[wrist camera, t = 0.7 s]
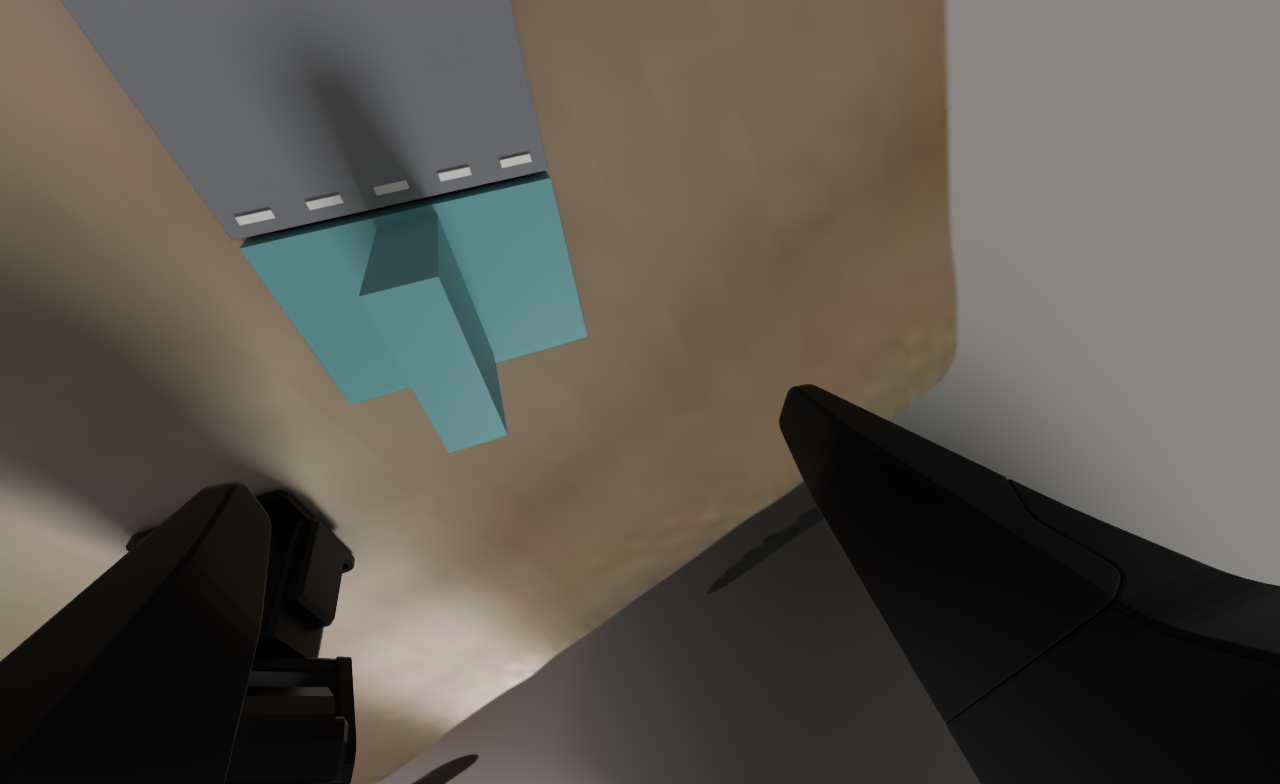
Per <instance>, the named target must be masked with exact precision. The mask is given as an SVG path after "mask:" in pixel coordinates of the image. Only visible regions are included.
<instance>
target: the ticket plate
mask: <svg viewBox="0 0 1280 784" xmlns="http://www.w3.org/2000/svg"><path fill="white" fill-rule="evenodd" d="M60 1H61V2H62V4H63V5H64V6H65V8H66V9H67V11H68V12H69V13H70V15H71V16H72V18H73V19H74V20H75V22H76V23H77V25H78V26H79V27H80V29H81V30H82V32H83V33H84V34H85V36H86V37H87V39H88V40H89V41H90V43H91V44H92V46H93V47H94V48H95V50H96V51H97V53H98V54H99V56H100V57H101V58H102V60H103V61H104V63H105V64H106V65H107V67H108V68H109V70H110V71H111V72H112V74H113V75H114V77H115V78H116V79H117V81H118V82H119V84H120V85H121V86H122V88H123V89H124V91H125V92H126V93H127V95H128V96H129V98H130V99H131V100H132V102H133V103H134V105H135V106H136V107H137V109H138V110H139V112H140V113H141V114H142V116H143V117H144V119H145V120H146V121H147V123H148V124H149V126H150V127H151V128H152V130H153V131H154V133H155V134H156V135H157V137H158V138H159V140H160V141H161V142H162V144H163V145H164V147H165V148H166V149H167V151H168V152H169V154H170V155H171V156H172V158H173V159H174V161H175V162H176V164H177V165H178V166H179V168H180V169H181V171H182V172H183V173H184V175H185V176H186V178H187V179H188V180H189V182H190V183H191V185H192V186H193V187H194V189H195V190H196V192H197V193H198V194H199V196H200V197H201V199H202V200H203V201H204V203H205V204H206V206H207V207H208V208H209V210H210V211H211V213H212V214H213V215H214V217H215V218H216V220H217V221H218V222H219V224H220V225H221V227H222V228H223V229H224V231H225V232H226V234H227V235H228V236H229V238H230V239H231V241H232V240H237V239H241V238H246V237H250V236H255V235H259V234H264V233H268V232H273V231H277V230H282V229H286V228H291V227H295V226H300V225H304V224H308V223H313V222H317V221H322V220H326V219H331V218H335V217H340V216H344V215H349V214H353V213H358V212H362V211H367V210H371V209H376V208H380V207H384V206H389V205H393V204H398V203H402V202H407V201H411V200H416V199H420V198H425V197H429V196H434V195H438V194H443V193H447V192H452V191H456V190H460V189H465V188H469V187H474V186H478V185H483V184H487V183H492V182H496V181H501V180H505V179H510V178H514V177H519V176H523V175H528V174H532V173H537V172H541V171H545V170H549V169H548V165H547V160H546V156H545V152H544V147H543V143H542V139H541V135H540V130H539V126H538V122H537V117H536V113H535V109H534V104H533V100H532V96H531V92H530V87H529V83H528V79H527V74H526V70H525V66H524V61H523V57H522V53H521V49H520V44H519V40H518V36H517V31H516V27H515V23H514V18H513V14H512V10H511V6H510V1H509V0H60Z"/></svg>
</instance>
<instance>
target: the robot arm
mask: <svg viewBox="0 0 1280 784" xmlns="http://www.w3.org/2000/svg"><path fill="white" fill-rule="evenodd" d="M779 424H780V429H781V432H782V434H783V436H784V438H785V441H786V443H787V445H788V447H789V449H790V452H791V454H792V456H793V458H794V460H795V462H796V465H797V467H798V469H799V471H800V473H801V476H802V478H803V480H804V482H805V484H806V486H807V488H808V490H809V493H810V495H811V496H812V498H813V500H814V502H815V504H816V505H817V507H818V509H819V511H820V512H821V514H822V516H823V517H824V519H825V521H826V522H827V524H828V526H829V528H830V529H831V531H832V533H833V534H834V536H835V538H836V539H837V541H838V543H839V544H840V546H841V548H842V549H843V551H844V553H845V555H846V556H847V558H848V560H849V561H850V563H851V565H852V567H853V568H854V570H855V571H856V573H857V575H858V577H859V579H860V580H861V582H862V584H863V585H864V587H865V589H866V590H867V592H868V594H869V595H870V597H871V599H872V600H873V602H874V604H875V605H876V607H877V609H878V611H879V612H880V614H881V616H882V617H883V619H884V621H885V623H886V624H887V626H888V628H889V629H890V631H891V633H892V634H893V636H894V638H895V639H896V641H897V643H898V645H899V646H900V648H901V650H902V651H903V653H904V655H905V657H906V658H907V660H908V661H909V663H910V665H911V667H912V668H913V670H914V672H915V674H916V675H917V677H918V678H919V680H920V682H921V684H922V685H923V687H924V689H925V690H926V692H927V694H928V696H929V697H930V699H931V701H932V702H933V704H934V706H935V708H936V709H937V711H938V713H939V714H940V716H941V718H942V719H943V721H944V722H945V723H946V727H947V728H948V730H949V732H950V734H951V735H952V737H953V739H954V740H955V742H956V744H957V745H958V747H959V749H960V750H961V752H962V754H963V756H964V757H965V759H966V761H967V762H968V764H969V766H970V767H971V769H972V771H973V773H974V774H975V776H976V778H977V779H978V781H979V783H980V784H1280V586H1276V585H1271V584H1266V583H1262V582H1258V581H1254V580H1250V579H1245V578H1242V577H1239V576H1236V575H1233V574H1230V573H1226V572H1224V571H1221V570H1218V569H1216V568H1213V567H1210V566H1208V565H1206V564H1203V563H1201V562H1199V561H1196V560H1194V559H1191V558H1189V557H1187V556H1184V555H1182V554H1179V553H1177V552H1175V551H1172V550H1170V549H1168V548H1165V547H1163V546H1160V545H1158V544H1156V543H1153V542H1151V541H1149V540H1146V539H1144V538H1141V537H1139V536H1137V535H1134V534H1131V533H1129V532H1127V531H1125V530H1122V529H1120V528H1118V527H1115V526H1112V525H1110V524H1108V523H1106V522H1103V521H1101V520H1098V519H1096V518H1094V517H1092V516H1090V515H1087V514H1085V513H1082V512H1080V511H1078V510H1075V509H1073V508H1071V507H1068V506H1067V505H1064V504H1062V503H1060V502H1058V501H1056V500H1053V499H1051V498H1049V497H1047V496H1045V495H1043V494H1041V493H1038V492H1036V491H1034V490H1032V489H1030V488H1028V487H1026V486H1024V485H1022V484H1020V483H1018V482H1016V481H1013V480H1011V479H1008V480H1007V478H1006V477H1005V476H1003V475H1001V474H999V473H997V472H994V471H992V470H990V469H988V468H986V467H984V466H982V465H980V464H978V463H976V462H974V461H971V460H969V459H967V458H965V457H963V456H961V455H959V454H957V453H955V452H952V451H950V450H948V449H946V448H944V447H942V446H940V445H938V444H936V443H934V442H932V441H930V440H927V439H925V438H923V437H921V436H919V435H917V434H915V433H913V432H911V431H909V430H907V429H904V428H902V427H900V426H898V425H896V424H894V423H892V422H890V421H888V420H886V419H884V418H882V417H879V416H877V415H875V414H873V413H871V412H869V411H867V410H865V409H863V408H861V407H859V406H856V405H854V404H852V403H850V402H848V401H846V400H844V399H842V398H840V397H838V396H836V395H833V394H831V393H829V392H827V391H825V390H823V389H821V388H819V387H817V386H815V385H812V384H806V385H800V386H794V387H792V388H791V389H790V390H789V391H788V393H787V396H786V399H785V402H784V405H783V408H782V412H781V415H780V419H779ZM277 501H282V502H277ZM126 549H127V550H128V551H129V552H128V553H127V554H126V555H125V556H123V557H122V558H121V559H120V560H119V561H118V562H116V563H115V564H114V565H113V566H112V567H110V568H109V569H108V570H107V571H106V572H105V573H103V574H102V575H101V576H100V577H99V578H98V579H96V580H95V581H94V582H93V583H92V584H91V585H89V586H88V587H87V588H86V589H85V590H84V591H82V592H81V593H80V594H79V595H78V596H77V597H75V598H74V599H73V600H72V601H71V602H70V603H68V604H67V605H66V606H65V607H64V608H62V609H61V610H60V611H59V612H58V613H57V614H55V615H54V616H53V617H52V618H51V619H50V620H48V621H47V622H46V623H45V624H44V625H43V626H41V627H40V628H39V629H38V630H37V631H36V632H34V633H33V634H32V635H31V636H30V637H29V638H27V639H26V640H25V641H24V642H23V643H22V644H20V645H19V646H18V647H17V648H16V649H14V650H13V651H12V652H11V653H10V654H9V655H7V656H6V657H5V658H4V659H3V660H2V661H0V784H350V782H351V779H352V773H353V768H354V763H355V754H356V728H355V711H354V694H353V677H352V660H351V657H337V658H336V659H329V658H318V656H319V650H320V645H321V639H322V634H323V628H324V627H326V626H329V625H331V624H332V622H333V620H334V618H335V612H336V606H337V600H338V594H339V588H340V582H341V576H342V573H345V572H348V571H350V570H352V569H353V567H354V562H355V558H354V557H353V556H352V555H351V554H350V553H349V552H348V551H347V550H346V547H345V546H344V545H343V544H342V543H341V542H340V541H339V540H338V539H337V538H336V537H335V536H334V535H333V534H332V533H331V532H330V531H329V530H328V529H327V528H326V527H325V526H324V525H323V524H322V523H321V522H320V521H318V520H317V519H316V518H315V517H314V516H313V515H312V514H311V513H310V512H309V511H308V510H307V509H306V508H305V507H304V506H303V505H302V504H301V503H300V502H299V501H298V500H297V499H296V498H295V497H294V496H293V495H292V494H291V493H289V492H286V491H273V492H270V493H267V494H264V495H260V496H257V497H255V496H254V495H253V493H252V492H251V490H250V489H249V488H248V487H247V486H246V485H245V484H244V483H242V482H230V483H224V484H218V485H213V486H209V487H206V488H204V489H202V490H201V491H200V492H198V493H197V494H196V495H195V496H194V497H192V498H191V499H190V500H189V501H188V502H187V503H185V504H184V505H183V506H182V507H181V508H180V509H178V510H177V511H176V512H175V513H174V514H173V515H171V516H170V517H169V518H168V519H167V520H166V521H164V522H163V523H162V524H161V525H160V526H158V527H157V528H153V529H150V530H147V531H144V532H140V533H137V534H135V535H133V536H132V537H131V538H130V540H129V542H128V543H127V545H126Z"/></svg>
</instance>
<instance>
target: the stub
mask: <svg viewBox="0 0 1280 784" xmlns="http://www.w3.org/2000/svg"><path fill="white" fill-rule="evenodd" d="M239 249H240V251H241V252H242V254H243V255H244V256H245V258H246V259H247V261H248V262H249V263H250V265H251V266H252V268H253V269H254V270H255V272H256V273H257V275H258V276H259V277H260V279H261V280H262V282H263V283H264V284H265V286H266V287H267V289H268V290H269V292H270V293H271V294H272V296H273V297H274V299H275V300H276V301H277V303H278V304H279V306H280V307H281V308H282V310H283V311H284V313H285V314H286V315H287V317H288V318H289V320H290V321H291V323H292V324H293V325H294V327H295V328H296V330H297V331H298V332H299V334H300V335H301V337H302V338H303V339H304V341H305V342H306V344H307V345H308V346H309V348H310V349H311V351H312V352H313V353H314V355H315V356H316V358H317V359H318V361H319V362H320V363H321V365H322V366H323V368H324V369H325V370H326V372H327V373H328V375H329V376H330V377H331V379H332V380H333V382H334V383H335V384H336V386H337V387H338V389H339V390H340V391H341V393H342V394H343V396H344V397H345V399H346V400H347V401H348V403H349V404H350V405H352V404H356V403H359V402H363V401H366V400H370V399H373V398H377V397H380V396H383V395H387V394H390V393H394V392H397V391H401V390H404V389H408V388H411V389H412V390H413V392H414V394H415V396H416V397H417V399H418V401H419V403H420V404H421V406H422V408H423V409H424V411H425V413H426V415H427V416H428V418H429V420H430V422H431V423H432V425H433V427H434V429H435V430H436V432H437V434H438V435H439V437H440V439H441V441H442V442H443V444H444V446H445V448H446V449H447V451H448V453H452V452H455V451H458V450H462V449H465V448H468V447H471V446H474V445H478V444H481V443H484V442H487V441H490V440H493V439H497V438H500V437H503V436H506V435H508V434H507V428H506V422H505V416H504V410H503V404H502V398H501V392H500V386H499V380H498V374H497V369H496V363H498V362H502V361H505V360H509V359H512V358H516V357H519V356H523V355H526V354H530V353H533V352H537V351H540V350H544V349H547V348H550V347H554V346H557V345H561V344H564V343H568V342H571V341H575V340H578V339H582V338H585V337H587V334H586V329H585V325H584V321H583V316H582V312H581V308H580V304H579V299H578V295H577V291H576V286H575V282H574V278H573V273H572V269H571V265H570V261H569V256H568V252H567V248H566V243H565V239H564V235H563V231H562V226H561V222H560V218H559V213H558V209H557V205H556V200H555V196H554V192H553V188H552V183H551V179H550V177H549V175H548V174H547V172H545V173H541V174H536V175H532V176H528V177H523V178H519V179H514V180H510V181H505V182H501V183H496V184H492V185H487V186H483V187H479V188H474V189H470V190H465V191H461V192H456V193H452V194H447V195H443V196H438V197H434V198H430V199H425V200H421V201H416V202H412V203H407V204H403V205H398V206H394V207H389V208H385V209H380V210H376V211H372V212H367V213H363V214H358V215H354V216H349V217H345V218H340V219H336V220H331V221H327V222H323V223H318V224H314V225H309V226H305V227H300V228H296V229H291V230H287V231H282V232H278V233H273V234H269V235H265V236H260V237H256V238H251V239H247V240H246V241H245V242H244V243H243V245H242V246H241V247H240V248H239Z"/></svg>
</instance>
